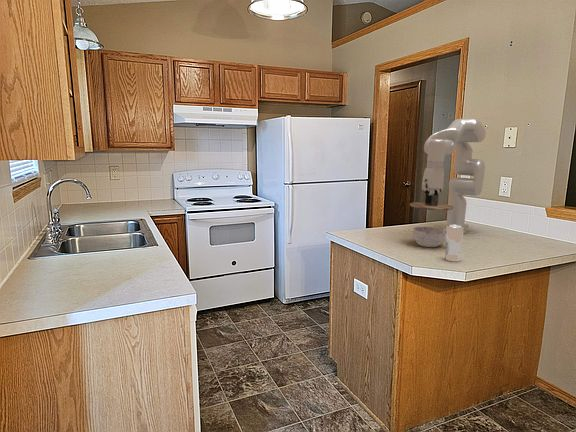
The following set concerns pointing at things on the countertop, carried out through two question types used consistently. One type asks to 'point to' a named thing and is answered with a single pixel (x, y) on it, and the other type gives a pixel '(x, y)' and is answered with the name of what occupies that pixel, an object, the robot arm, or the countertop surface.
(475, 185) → the robot arm
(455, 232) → the beer glass
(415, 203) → the walnut lid
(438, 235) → the paper bowls
